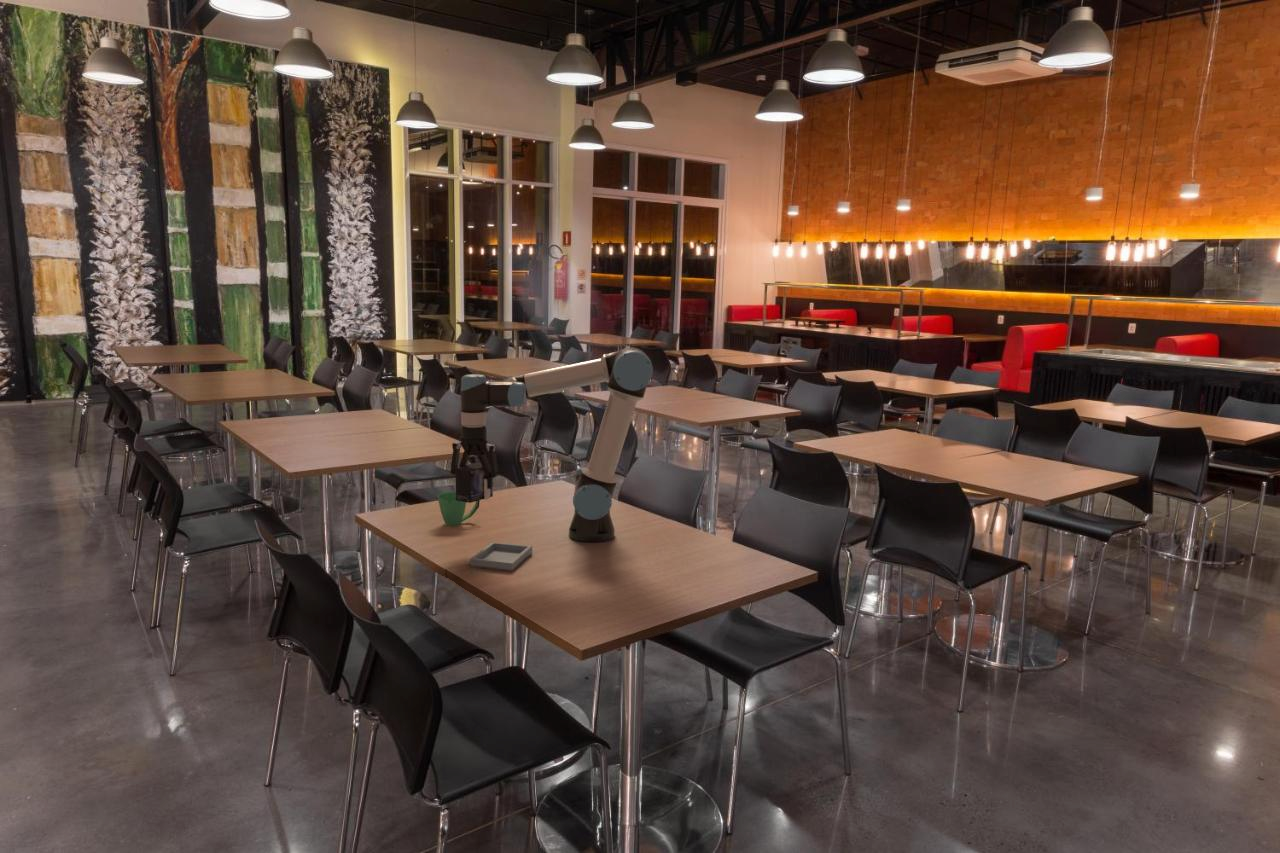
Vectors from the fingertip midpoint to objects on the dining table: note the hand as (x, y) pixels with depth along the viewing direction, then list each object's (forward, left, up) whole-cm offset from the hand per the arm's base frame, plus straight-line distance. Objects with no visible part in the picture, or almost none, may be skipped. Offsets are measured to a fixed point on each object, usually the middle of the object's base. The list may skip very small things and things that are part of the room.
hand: (474, 497), depth 262 cm
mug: (+15, -22, -16) cm, 32 cm away
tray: (-13, +10, -16) cm, 23 cm away
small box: (0, 0, -1) cm, 1 cm away
